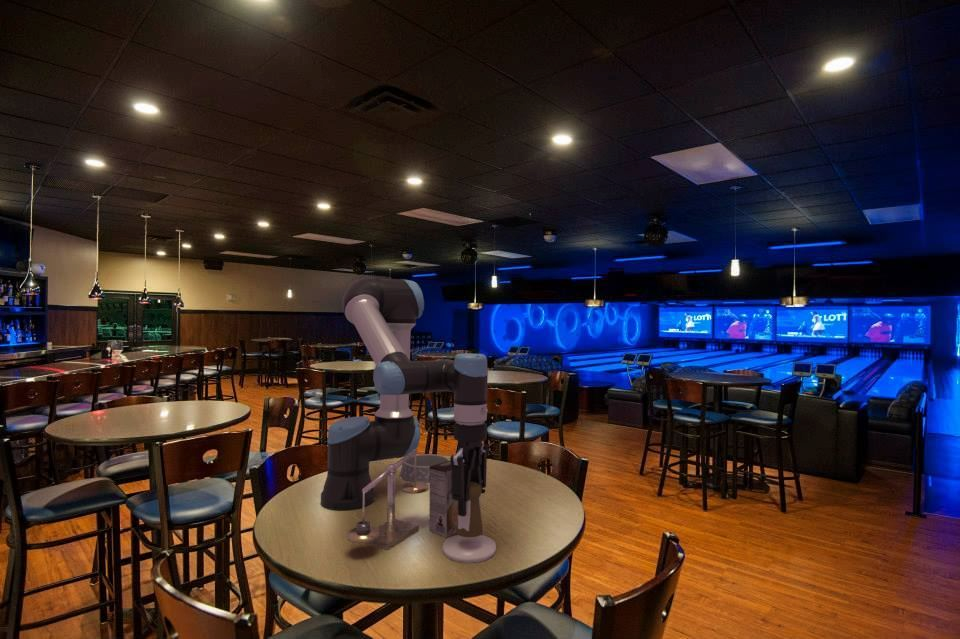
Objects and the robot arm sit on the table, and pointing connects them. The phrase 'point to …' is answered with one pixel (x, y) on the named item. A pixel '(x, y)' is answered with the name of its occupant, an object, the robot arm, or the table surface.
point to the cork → (473, 513)
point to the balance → (388, 512)
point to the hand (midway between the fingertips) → (469, 525)
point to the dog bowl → (420, 467)
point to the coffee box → (442, 501)
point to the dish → (469, 548)
